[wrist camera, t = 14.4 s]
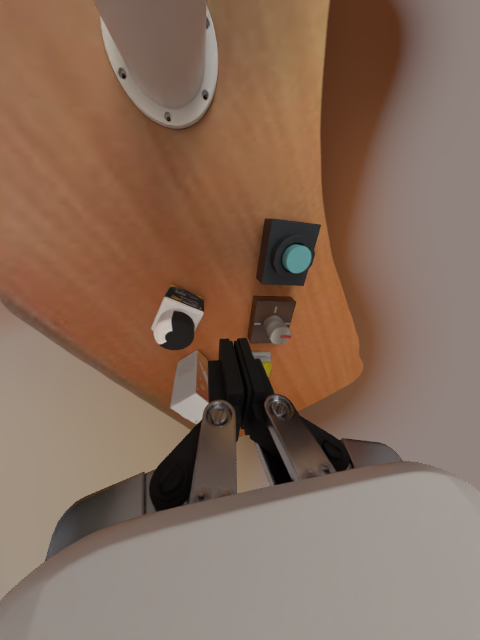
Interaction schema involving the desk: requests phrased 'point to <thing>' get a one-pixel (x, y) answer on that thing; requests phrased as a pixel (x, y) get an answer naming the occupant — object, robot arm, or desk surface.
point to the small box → (191, 387)
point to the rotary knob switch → (268, 315)
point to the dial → (276, 330)
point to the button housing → (276, 242)
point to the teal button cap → (296, 258)
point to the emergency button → (264, 360)
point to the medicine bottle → (177, 318)
